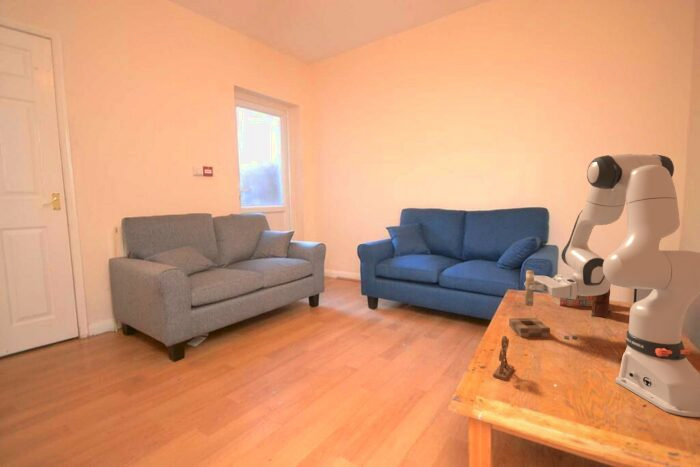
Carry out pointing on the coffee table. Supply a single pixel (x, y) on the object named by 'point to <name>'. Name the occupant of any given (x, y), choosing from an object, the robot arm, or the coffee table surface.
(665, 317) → the robot arm
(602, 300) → the wooden figurine
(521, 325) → the square hole block
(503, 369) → the brown ring sculpture
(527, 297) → the wooden dowel
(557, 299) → the stack of blocks
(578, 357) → the coffee table surface
